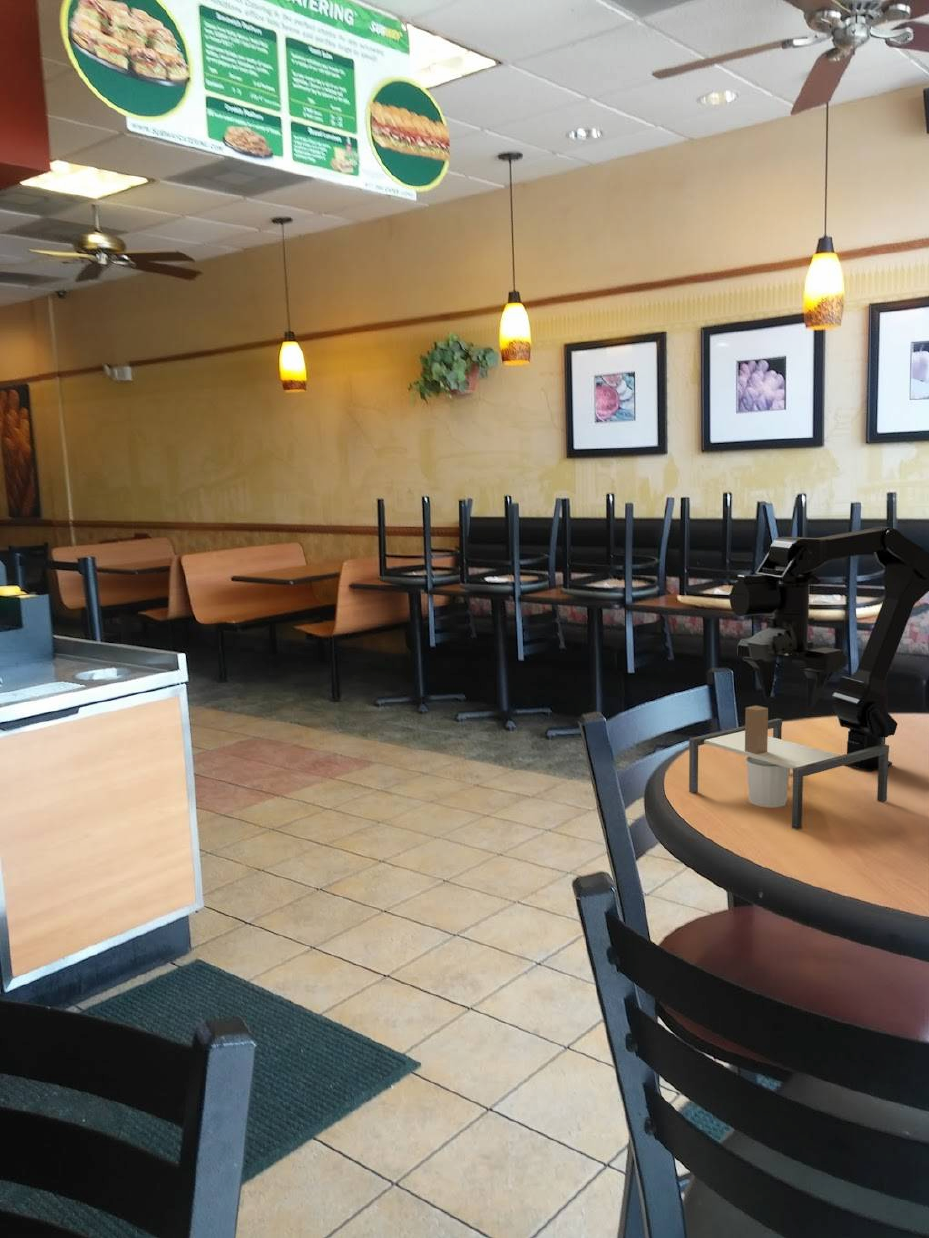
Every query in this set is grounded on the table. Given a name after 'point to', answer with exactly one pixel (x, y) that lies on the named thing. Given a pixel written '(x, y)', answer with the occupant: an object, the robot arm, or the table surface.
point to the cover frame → (799, 771)
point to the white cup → (767, 783)
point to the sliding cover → (767, 743)
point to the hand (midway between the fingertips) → (788, 702)
